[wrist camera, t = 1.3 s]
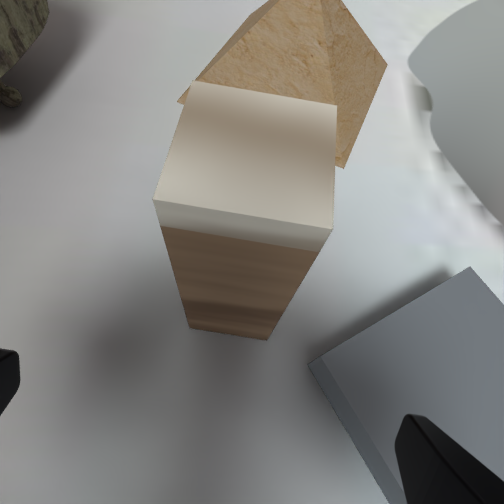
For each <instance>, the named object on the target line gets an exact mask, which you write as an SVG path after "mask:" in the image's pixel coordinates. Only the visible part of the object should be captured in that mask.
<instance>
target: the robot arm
mask: <svg viewBox="0 0 504 504" xmlns="http://www.w3.org/2000/svg"><path fill="white" fill-rule="evenodd" d="M19 385H20V365H19V355H18V353H17V352H16V351H14V350H8V349H1V348H0V416H1V414H2V413H3V411H4V410H5V408H6V407H7V405H8V404H9V402H10V401H11V399H12V398H13V397H14V395H15V394H16V392H17V390H18V388H19ZM394 448H395V454H396V459H397V463H398V467H399V472H400V476H401V480H402V485H403V489H404V493H405V498H406V502H407V504H504V481H503V480H502V479H501V478H499V477H498V476H497V475H496V474H495V473H493V472H492V471H491V470H490V469H488V468H487V467H486V466H485V465H484V464H482V463H481V462H480V461H479V460H478V459H476V458H475V457H474V456H473V455H472V454H470V453H469V452H468V451H467V450H466V449H464V448H463V447H462V446H461V445H459V444H458V443H457V442H456V441H455V440H453V439H452V438H451V437H450V436H449V435H447V434H446V433H445V432H444V431H443V430H441V429H440V428H439V427H438V426H437V425H435V424H434V423H433V422H432V421H430V420H429V419H428V418H427V417H425V416H423V415H417V414H411V413H409V414H406V415H405V416H404V418H403V420H402V423H401V425H400V428H399V431H398V433H397V436H396V439H395V444H394Z"/></svg>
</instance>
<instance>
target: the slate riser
mask: <svg viewBox="0 0 504 504" xmlns="http://www.w3.org/2000/svg"><path fill="white" fill-rule="evenodd" d="M308 366H309V368H310V370H311V371H312V373H313V375H314V377H315V378H316V380H317V382H318V383H319V385H320V387H321V388H322V390H323V392H324V393H325V395H326V397H327V399H328V400H329V402H330V404H331V405H332V407H333V409H334V410H335V412H336V414H337V415H338V417H339V419H340V421H341V422H342V424H343V426H344V427H345V429H346V431H347V432H348V434H349V436H350V437H351V439H352V441H353V443H354V444H355V446H356V448H357V449H358V451H359V453H360V454H361V456H362V458H363V459H364V461H365V463H366V465H367V466H368V468H369V470H370V471H371V473H372V475H373V476H374V478H375V480H376V482H377V483H378V485H379V487H380V488H381V490H382V492H383V493H384V495H385V497H386V498H387V500H388V502H389V504H407V502H406V498H405V493H404V489H403V485H402V480H401V476H400V472H399V467H398V463H397V459H396V454H395V448H394V444H395V439H396V436H397V433H398V431H399V428H400V425H401V423H402V420H403V418H404V416H405V415H406V414H409V413H411V414H417V415H423V416H425V417H427V418H428V419H429V420H430V421H432V422H433V423H434V424H435V425H437V426H438V427H439V428H440V429H441V430H443V431H444V432H445V433H446V434H447V435H449V436H450V437H451V438H452V439H453V440H455V441H456V442H457V443H458V444H459V445H461V446H462V447H463V448H464V449H466V450H467V451H468V452H469V453H470V454H472V455H473V456H474V457H475V458H476V459H478V460H479V461H480V462H481V463H482V464H484V465H485V466H486V467H487V468H488V469H490V470H491V471H492V472H493V473H495V474H496V475H497V476H498V477H499V478H501V479H502V480H503V481H504V305H503V304H502V302H501V301H500V300H499V299H498V298H497V297H496V295H495V294H494V293H493V292H492V291H491V290H490V289H489V287H488V286H487V285H486V284H485V283H484V282H483V281H482V279H481V278H480V277H479V276H478V275H477V274H476V273H475V271H474V270H473V269H472V268H471V267H468V268H467V269H465V270H463V271H462V272H460V273H458V274H457V275H455V276H453V277H452V278H450V279H448V280H447V281H445V282H443V283H442V284H440V285H438V286H437V287H435V288H433V289H432V290H430V291H428V292H427V293H425V294H423V295H422V296H420V297H418V298H417V299H415V300H413V301H412V302H410V303H408V304H407V305H405V306H403V307H402V308H400V309H398V310H397V311H395V312H393V313H392V314H390V315H388V316H386V317H385V318H383V319H381V320H380V321H378V322H376V323H375V324H373V325H371V326H370V327H368V328H366V329H365V330H363V331H361V332H360V333H358V334H356V335H355V336H353V337H351V338H350V339H348V340H346V341H345V342H343V343H341V344H340V345H338V346H336V347H335V348H333V349H331V350H330V351H328V352H326V353H325V354H323V355H321V356H320V357H318V358H317V359H315V360H314V361H312V362H311V363H309V364H308Z"/></svg>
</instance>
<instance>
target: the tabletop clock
mask: <svg viewBox="0 0 504 504" xmlns="http://www.w3.org/2000/svg"><path fill="white" fill-rule="evenodd" d="M48 15H49V9H48V3H47V0H0V78H1V77H2V76H3V75H4V74H5V73H6V72H7V71H9V70H10V69H11V68H12V67H13V66H14V65H15V64H16V63H17V62H18V61H19V59H20V58H21V57H22V56H23V54H24V53H25V52H26V51H27V50H28V48H29V47H30V46H31V45H32V43H33V42H34V41H35V40H36V39H37V37H38V36H39V35H40V33H41V32H42V30H43V28H44V26H45V24H46V21H47V18H48ZM0 101H1V102H2V103H3V104H4V105H6V106H9V107H17V106H19V105H20V104H21V102H22V96H21V95H20V93H19V92H18V90H17V89H15V88H14V87H10V86H5V85H4V83H3V82H2V81H1V79H0Z"/></svg>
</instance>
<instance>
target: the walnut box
mask: <svg viewBox="0 0 504 504" xmlns="http://www.w3.org/2000/svg"><path fill="white" fill-rule="evenodd" d="M336 123H337V105H331V104H325V103H319V102H314V101H308V100H302V99H297V98H291V97H285V96H279V95H274V94H268V93H262V92H256V91H251V90H245V89H239V88H234V87H228V86H222V85H216V84H211V83H205V82H199V81H193V80H192V83H191V86H190V89H189V92H188V95H187V98H186V101H185V104H184V107H183V110H182V113H181V116H180V119H179V122H178V125H177V128H176V131H175V134H174V137H173V140H172V143H171V146H170V149H169V152H168V155H167V158H166V161H165V164H164V167H163V170H162V172H161V175H160V178H159V181H158V184H157V187H156V190H155V193H154V196H153V202H154V206H155V209H156V213H157V216H158V220H159V223H160V227H161V230H162V234H163V237H164V241H165V244H166V248H167V251H168V255H169V258H170V262H171V265H172V268H173V272H174V275H175V279H176V282H177V286H178V289H179V293H180V296H181V300H182V303H183V307H184V310H185V314H186V317H187V321H188V324H189V327H190V328H192V329H199V330H205V331H211V332H217V333H223V334H230V335H236V336H242V337H248V338H254V339H261V340H267V339H268V338H269V336H270V334H271V333H272V331H273V329H274V328H275V326H276V324H277V323H278V321H279V319H280V318H281V316H282V314H283V313H284V311H285V309H286V308H287V306H288V304H289V302H290V301H291V299H292V297H293V296H294V294H295V292H296V291H297V289H298V287H299V286H300V284H301V282H302V281H303V279H304V277H305V276H306V274H307V272H308V271H309V269H310V267H311V266H312V264H313V262H314V260H315V259H316V257H317V255H318V254H319V252H320V250H321V249H322V247H323V245H324V244H325V242H326V240H327V239H328V237H329V235H330V234H331V232H332V230H333V214H334V184H335V153H336Z"/></svg>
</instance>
